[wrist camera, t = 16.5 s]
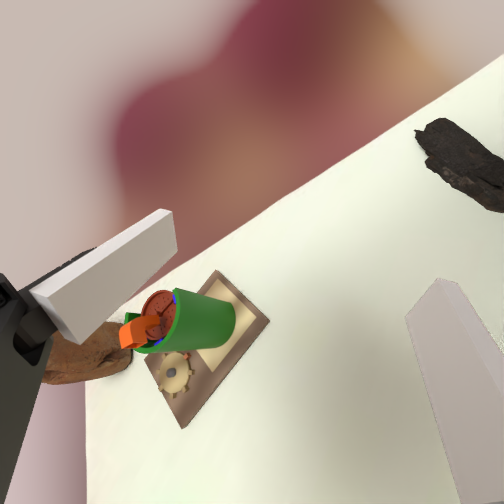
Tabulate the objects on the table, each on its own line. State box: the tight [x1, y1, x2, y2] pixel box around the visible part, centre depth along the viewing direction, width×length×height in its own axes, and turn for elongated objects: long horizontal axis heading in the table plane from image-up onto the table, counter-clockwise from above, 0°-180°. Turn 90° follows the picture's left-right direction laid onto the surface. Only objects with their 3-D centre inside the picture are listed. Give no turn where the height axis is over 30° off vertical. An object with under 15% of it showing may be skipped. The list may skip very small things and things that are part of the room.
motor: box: [119, 288, 236, 354], centre depth 35 cm, size 10×9×20 cm
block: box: [41, 321, 131, 385], centre depth 44 cm, size 11×8×20 cm
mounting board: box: [144, 270, 270, 429], centre depth 43 cm, size 16×25×3 cm, turn 138°
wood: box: [414, 118, 504, 213], centre depth 35 cm, size 22×7×3 cm, turn 20°
